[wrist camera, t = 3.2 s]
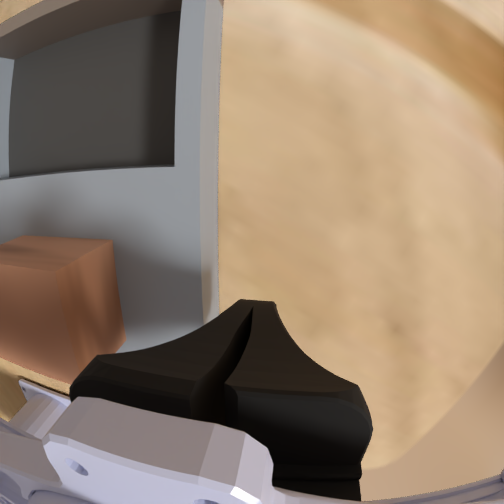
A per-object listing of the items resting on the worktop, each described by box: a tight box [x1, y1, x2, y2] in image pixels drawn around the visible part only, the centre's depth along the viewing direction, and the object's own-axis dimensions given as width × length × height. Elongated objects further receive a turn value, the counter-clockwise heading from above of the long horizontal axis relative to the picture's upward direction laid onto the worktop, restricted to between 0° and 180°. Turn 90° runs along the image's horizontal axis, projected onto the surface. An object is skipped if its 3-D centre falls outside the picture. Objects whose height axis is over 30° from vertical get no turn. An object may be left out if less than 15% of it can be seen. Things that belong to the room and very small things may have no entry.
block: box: [0, 235, 126, 384], centre depth 12 cm, size 5×6×4 cm
